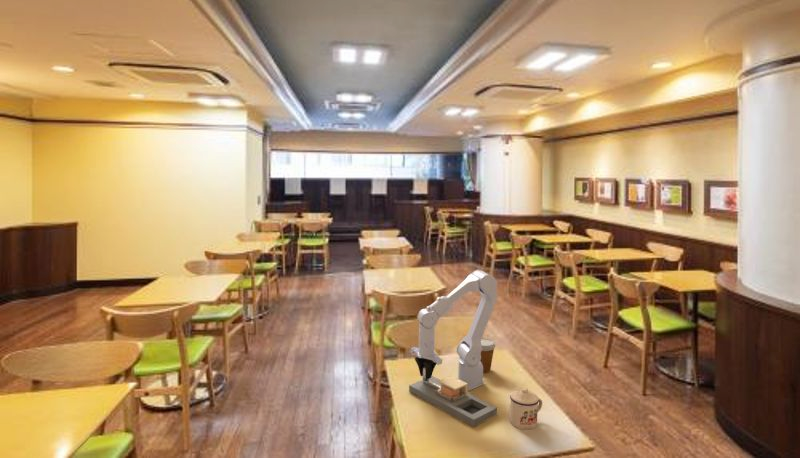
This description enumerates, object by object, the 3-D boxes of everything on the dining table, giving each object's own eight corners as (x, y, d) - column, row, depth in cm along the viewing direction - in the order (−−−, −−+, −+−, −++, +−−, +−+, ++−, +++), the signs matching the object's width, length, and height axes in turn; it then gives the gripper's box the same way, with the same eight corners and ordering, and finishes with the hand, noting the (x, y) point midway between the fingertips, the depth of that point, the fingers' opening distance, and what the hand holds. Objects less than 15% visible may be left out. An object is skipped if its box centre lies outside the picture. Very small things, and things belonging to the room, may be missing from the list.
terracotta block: (440, 394, 169) (440, 385, 169) (449, 390, 172) (449, 381, 172) (451, 399, 165) (451, 390, 165) (459, 396, 168) (460, 386, 168)
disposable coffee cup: (494, 375, 190) (495, 347, 189) (470, 373, 192) (471, 344, 191) (494, 366, 200) (495, 338, 198) (471, 363, 202) (472, 336, 200)
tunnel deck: (409, 391, 176) (409, 373, 175) (432, 382, 184) (432, 364, 183) (473, 426, 153) (474, 406, 152) (497, 414, 161) (497, 394, 160)
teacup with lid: (521, 432, 150) (523, 398, 149) (503, 418, 158) (504, 385, 157) (550, 424, 155) (552, 390, 154) (531, 411, 163) (533, 379, 162)
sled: (417, 383, 177) (417, 368, 176) (429, 378, 181) (429, 363, 180) (452, 402, 164) (453, 385, 163) (464, 396, 168) (465, 380, 167)
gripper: (405, 338, 179) (404, 373, 181) (432, 350, 168) (431, 386, 170) (419, 334, 183) (418, 368, 185) (446, 345, 172) (445, 381, 174)
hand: (425, 376), depth 178 cm, fingers closed on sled, 2 cm apart
